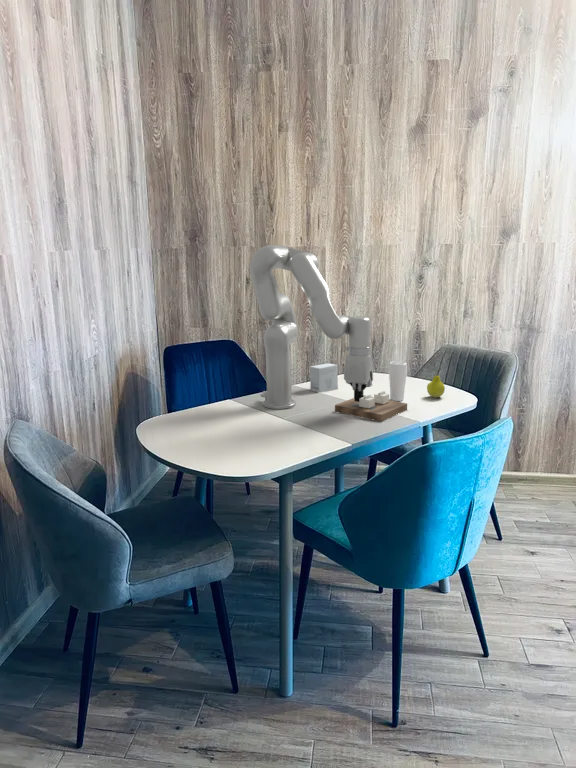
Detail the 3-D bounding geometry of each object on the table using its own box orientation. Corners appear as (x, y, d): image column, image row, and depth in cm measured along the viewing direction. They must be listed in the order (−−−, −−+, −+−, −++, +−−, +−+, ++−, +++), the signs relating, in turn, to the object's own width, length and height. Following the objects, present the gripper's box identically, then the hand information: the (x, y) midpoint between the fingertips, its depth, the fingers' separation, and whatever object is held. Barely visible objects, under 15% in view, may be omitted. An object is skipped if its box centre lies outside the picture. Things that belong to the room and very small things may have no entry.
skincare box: (328, 386, 247) (328, 362, 245) (338, 389, 242) (338, 365, 240) (309, 389, 241) (309, 365, 239) (319, 392, 236) (319, 368, 234)
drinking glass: (407, 402, 220) (408, 364, 217) (389, 402, 221) (390, 364, 217) (404, 397, 227) (405, 360, 223) (387, 397, 227) (388, 361, 224)
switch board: (334, 411, 209) (334, 404, 209) (361, 401, 223) (361, 394, 222) (381, 421, 197) (381, 414, 196) (407, 410, 210) (407, 403, 210)
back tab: (374, 402, 211) (374, 392, 210) (379, 400, 214) (380, 390, 213) (383, 404, 208) (383, 394, 207) (389, 401, 211) (389, 391, 210)
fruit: (423, 397, 227) (424, 368, 224) (432, 394, 232) (434, 365, 229) (437, 400, 222) (439, 370, 220) (447, 397, 227) (449, 368, 224)
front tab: (359, 406, 205) (359, 396, 205) (365, 404, 208) (365, 394, 208) (368, 408, 203) (368, 398, 202) (374, 405, 206) (374, 395, 205)
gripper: (336, 350, 205) (336, 399, 210) (371, 355, 196) (370, 406, 200) (347, 347, 211) (347, 395, 215) (382, 352, 201) (381, 401, 206)
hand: (358, 400), depth 208 cm, fingers closed
